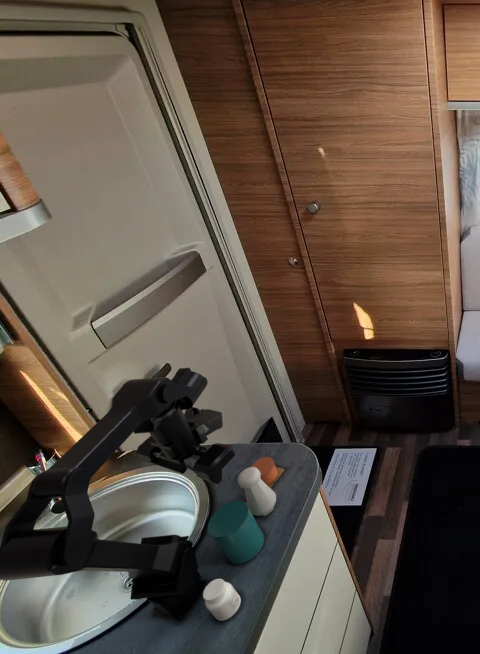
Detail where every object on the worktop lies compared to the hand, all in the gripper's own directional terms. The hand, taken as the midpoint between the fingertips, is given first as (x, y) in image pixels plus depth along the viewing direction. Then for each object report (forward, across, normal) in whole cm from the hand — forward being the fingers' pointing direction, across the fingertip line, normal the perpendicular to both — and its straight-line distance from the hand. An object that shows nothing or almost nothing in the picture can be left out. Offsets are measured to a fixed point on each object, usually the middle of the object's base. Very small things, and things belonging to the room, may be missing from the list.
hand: (201, 476), depth 89 cm
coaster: (+13, -4, -10) cm, 17 cm away
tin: (+13, -11, +5) cm, 18 cm away
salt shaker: (+13, -9, -3) cm, 16 cm away
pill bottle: (+13, -16, +15) cm, 26 cm away
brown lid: (+13, -4, -10) cm, 16 cm away
